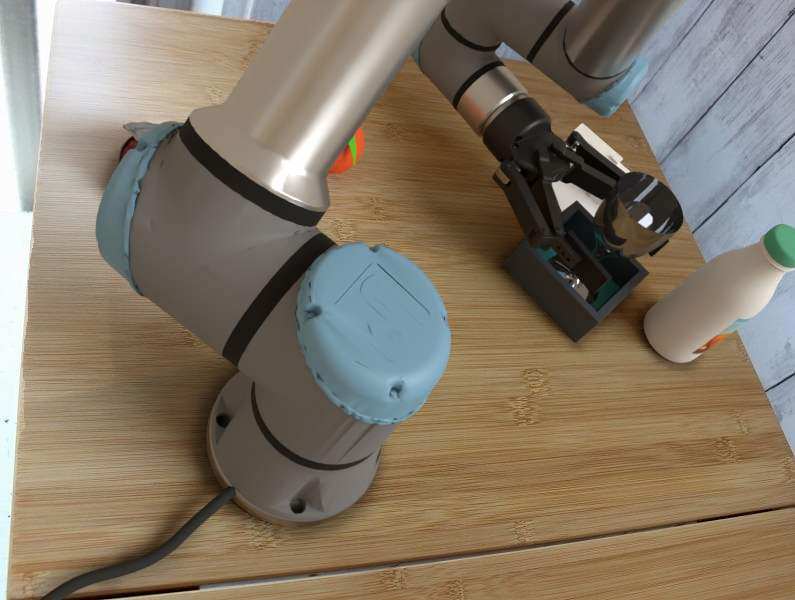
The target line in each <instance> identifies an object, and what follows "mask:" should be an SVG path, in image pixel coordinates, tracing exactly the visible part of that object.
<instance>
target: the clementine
mask: <svg viewBox="0 0 795 600" xmlns="http://www.w3.org/2000/svg"><path fill="white" fill-rule="evenodd" d="M364 147H365V136H364V131H363V129H362V125H361V126H360V128H359V129H358V130H357V132H356V133H355V135H354V136H353V137H352V139H351V140H350V142H349V143H348V145H347V146H346V147H345V149H344V150H343V152H342V153H341V154H340V156H339V157H338V159H337V160H336V162H335V163H334V164H333V166H332V167H331V169H330V170H329V171H328V173H327V174H341V173H343V172H346V171H348V170H350V169H351V168H352V167H353V169H354V168H355V165H356V163H358V161H359V159H360V158H361V157H362V154H363V151H364Z"/></svg>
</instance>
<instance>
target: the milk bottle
mask: <svg viewBox="0 0 795 600" xmlns="http://www.w3.org/2000/svg"><path fill="white" fill-rule="evenodd" d="M793 271H795V227H793V226H791V225H789V224H785V223H779V224H776V225H774V226H772V227H771V228H770V229H769V230H768V231H767V232H766V233H765V234H763V235H761V237H760V238H759V241H757V242H755V243H753V244H751V245H747V246H744V247H739V248H734V249H731V250H727V251H724V252H722V253H720V254H718V255H716V256H715V257H712V258H711V259H710V260H708V261H707V262H706V263H704V264H703V265H701V266H700V267H699V268H697V269H696V270H695V271H694V272H693V273H692V274H690V275H688V277H686V278H685V279H684V280H683V281H681V282H680V283H679V284H678V285H677V286H675V287H674V288H673V289H672V290H671V291H670V292H668V293H667V294H666V295H665V296H664V297H662V298H661V299H659V300H658V301H657V302H656V303H655V304H654V305H653V306H652V307H650V308H649V309H648V310H647V311H646V314H645V316H644V319H643V331H644V334H645V336H646V339H647V341H648V343H649V344H650V346H651V347H652V348H653V349H654V351H655V352H657V354H659V355H660V356H661V357H663V358H664V359H666V360H668V361H670V362H672V363H677V364H683V363H689V362H692V361H693V360H695V359H697V358H698V357H699V356H701V355H702V354H704V353H706V352H707V351H708V350H709V349H711V348H713V347H714V346H715V345H717V344H718V343H720V342H721V341H722V340H724V339H725V338H726V337H728V336H730V335H731V334H732V333H734V332H735V331H737V330H738V329H740V328H741V327H742V326H743V325H745V324H747V323H748V322H749V321H750V320H751V319H753V318H754V317H756V316H757V315H758V314H759V313H760V312H761V311H762V310H763V309H764V308H765V307H766V306H767V305H768V304H769V302H770V301H771V299H772V298H773V296H774V293H775V291H776V289H777V288H778V285H779V283H780V281H781V280H782V278H783V277H784V276H785V274H786V273H788V272H789V273H790V272H793Z"/></svg>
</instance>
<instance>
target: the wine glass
mask: <svg viewBox="0 0 795 600" xmlns="http://www.w3.org/2000/svg"><path fill="white" fill-rule="evenodd" d="M683 224H684V212H683V208H682V205H681V203H680V201H679V199H678V198H677V196H676V194H674V192H673V191H672V190H671V189H670V188H669V187H668V186H667V185H666V184H665V183H663V182H662V181H661V180H659V179H658V178H657V177H654V176H652V175H651V174H648V173H645V172H641V171H630V172H629V173H626V174H624V175H623V176H622V177H621V178H620V179H619V180H618V181H617V182H616V183H615V184H614V185H613V186H612V188H611V189H610V190H609V191H608V192H607V194H606V195H605V196H604V198H603V200H602V201H601V203H600V205H599V207H598V209H597V211H596V213H595V216H594V220H593V231H594V236H595V241H596V245H595V249H594V251H593V253H592V254H593V255H594V256H595V258H596V259H597V260H598V261H599V260H601V259H603V258H605V257H616V258H622V259H633V258H635V259H638V258H640V257H643V256H646V255H647V254H648V253H649V252H651V251H653V250H655V249H656V248H658V247H659V246H661V245H662V244H663V243H664V242H666V241H667V240H670V238H672V237H673V236H674V235H676V233H678V231H679V230H680V229H681V228H682V226H683ZM548 262H549V263H550V264H551V265H552V266H553V267H554V268H555V269H556V270H557V272H558V273H559V274H560V275H561V276H562V277H563V278H564V279H565V280H566V281H567V282H568V283H569V284H570V285H571V286H572V287H573V288H574V289H575V290H576V291H577V292H578V293H579V294H580V295H581V296H582V297H583V298H584V299H585V300H586V301H587V302H588V303H589V304H590V305H591V304H593V303H594V302H595V301H596V299H597V297H598V293H599V290H598V291H597V292H595V293H594V294H593V293H592V291H591V290H590V289H589V288H588V287H587V285H586V284H585V283H584V282H583V281H582V279H581V278H580V277H579V276H578V275H577V273H576V272H575V271H574V270H573V269H572V268H569V267H568V266H566V264H565V263H564V262H563V261H562V260H561V258H560V257H559V256H558V255H556V256H553V257H552V258H550V259H549V261H548Z"/></svg>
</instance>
